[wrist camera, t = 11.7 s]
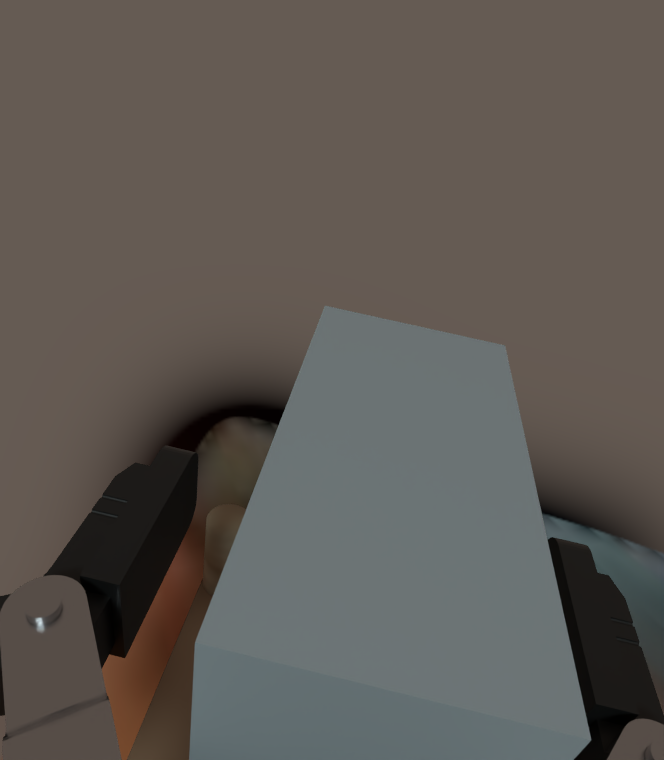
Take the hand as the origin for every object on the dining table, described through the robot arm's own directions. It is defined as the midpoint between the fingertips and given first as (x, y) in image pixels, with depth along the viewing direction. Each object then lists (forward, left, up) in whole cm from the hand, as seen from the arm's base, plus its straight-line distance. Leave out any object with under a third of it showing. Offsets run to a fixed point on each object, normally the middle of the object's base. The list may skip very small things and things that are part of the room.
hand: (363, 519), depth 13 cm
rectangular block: (0, +2, -10) cm, 10 cm away
